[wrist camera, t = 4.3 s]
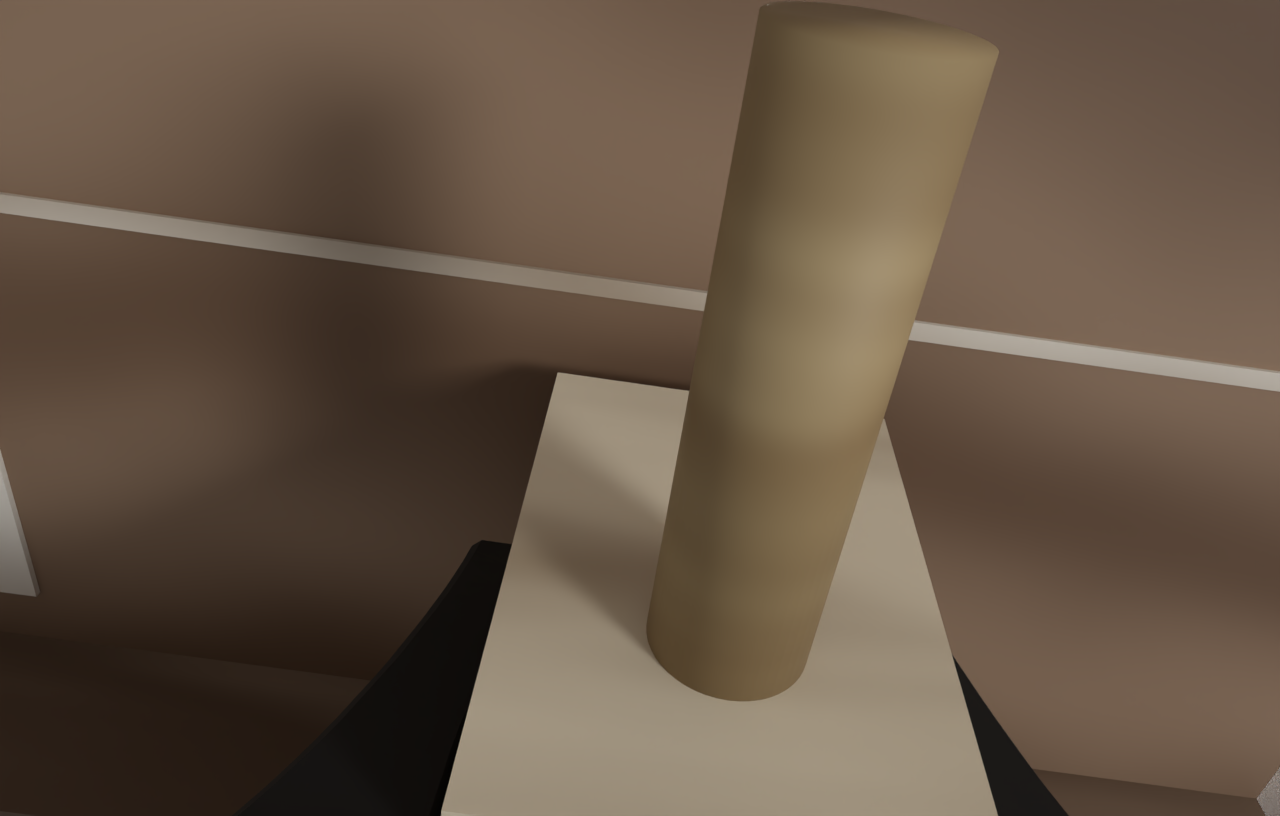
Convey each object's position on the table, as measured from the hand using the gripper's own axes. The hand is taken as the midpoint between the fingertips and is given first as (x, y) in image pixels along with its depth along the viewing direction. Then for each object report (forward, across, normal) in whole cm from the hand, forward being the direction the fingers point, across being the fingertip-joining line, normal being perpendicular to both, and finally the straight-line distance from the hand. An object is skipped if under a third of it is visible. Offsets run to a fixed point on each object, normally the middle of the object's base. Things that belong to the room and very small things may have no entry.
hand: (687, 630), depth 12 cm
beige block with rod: (+1, 0, -3) cm, 3 cm away
